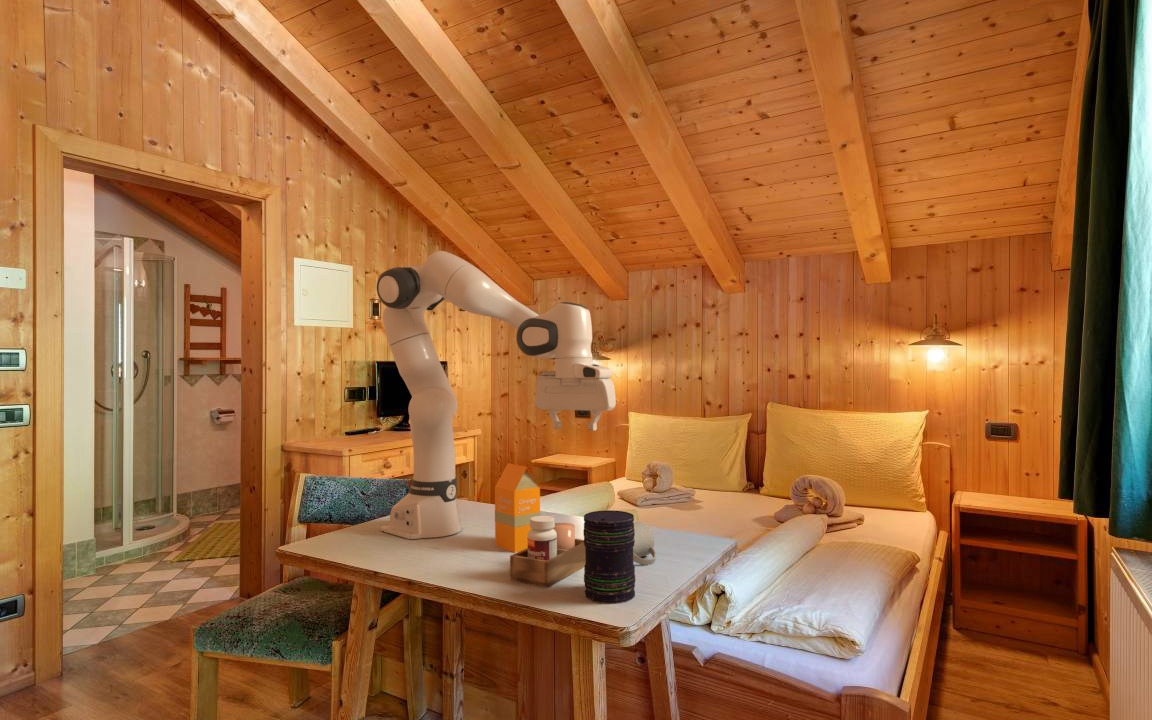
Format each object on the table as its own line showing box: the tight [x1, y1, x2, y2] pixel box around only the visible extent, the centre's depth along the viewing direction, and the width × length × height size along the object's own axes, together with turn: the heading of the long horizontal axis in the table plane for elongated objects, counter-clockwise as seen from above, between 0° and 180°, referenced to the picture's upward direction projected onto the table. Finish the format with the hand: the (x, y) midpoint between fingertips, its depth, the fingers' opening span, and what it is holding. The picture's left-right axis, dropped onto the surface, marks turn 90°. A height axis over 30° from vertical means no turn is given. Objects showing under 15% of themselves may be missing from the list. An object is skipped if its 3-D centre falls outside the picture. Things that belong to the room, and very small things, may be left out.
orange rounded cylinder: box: [552, 522, 576, 550], centre depth 137 cm, size 6×6×8 cm
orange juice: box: [494, 462, 541, 554], centre depth 153 cm, size 8×9×20 cm
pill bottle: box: [527, 515, 557, 561], centre depth 130 cm, size 6×6×11 cm
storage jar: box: [582, 509, 636, 605], centre depth 119 cm, size 10×10×15 cm
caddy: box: [509, 538, 586, 588], centre depth 133 cm, size 9×18×5 cm, turn 150°
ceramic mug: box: [633, 521, 657, 566], centre depth 141 cm, size 11×8×8 cm
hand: (574, 429), depth 146 cm, fingers open, 8 cm apart
